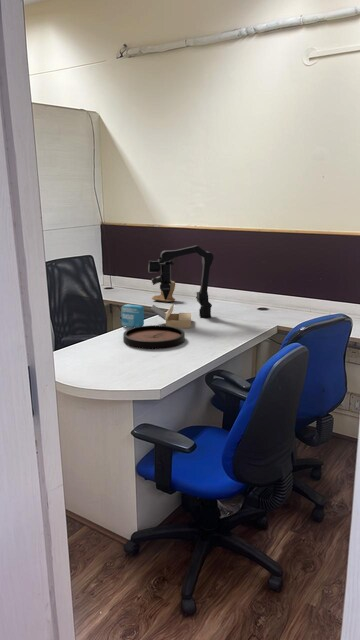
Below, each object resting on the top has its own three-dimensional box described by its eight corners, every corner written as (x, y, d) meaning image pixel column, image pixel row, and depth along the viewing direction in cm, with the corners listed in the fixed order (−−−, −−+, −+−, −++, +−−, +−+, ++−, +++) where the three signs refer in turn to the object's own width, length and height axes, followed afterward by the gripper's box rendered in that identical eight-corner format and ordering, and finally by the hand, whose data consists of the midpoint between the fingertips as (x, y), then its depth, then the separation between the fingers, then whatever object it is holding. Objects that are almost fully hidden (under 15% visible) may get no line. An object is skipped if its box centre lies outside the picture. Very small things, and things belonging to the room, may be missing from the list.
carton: (190, 320, 292) (190, 312, 291) (191, 328, 274) (191, 320, 273) (167, 320, 292) (167, 312, 291) (166, 327, 274) (166, 319, 273)
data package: (121, 326, 278) (121, 305, 275) (125, 324, 282) (124, 304, 279) (140, 328, 274) (140, 307, 271) (144, 326, 278) (143, 305, 275)
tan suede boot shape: (178, 300, 347) (178, 279, 343) (170, 303, 337) (170, 282, 333) (160, 298, 354) (159, 277, 350) (151, 301, 344) (151, 280, 340)
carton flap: (173, 304, 289) (159, 294, 288) (172, 310, 272) (158, 300, 271) (166, 314, 291) (152, 304, 289) (165, 321, 274) (150, 311, 273)
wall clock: (132, 344, 231) (116, 328, 259) (133, 352, 232) (116, 335, 260) (194, 338, 242) (172, 323, 270) (194, 346, 243) (172, 330, 271)
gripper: (153, 269, 298) (153, 295, 302) (151, 274, 280) (151, 301, 284) (171, 269, 298) (171, 295, 302) (170, 274, 280) (170, 301, 284)
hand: (165, 298), depth 293 cm, fingers open, 9 cm apart
